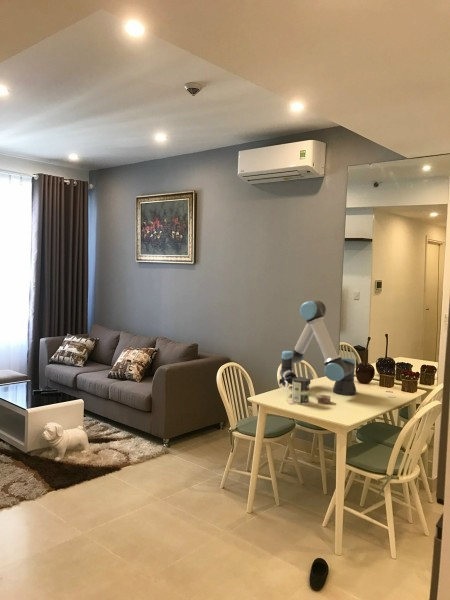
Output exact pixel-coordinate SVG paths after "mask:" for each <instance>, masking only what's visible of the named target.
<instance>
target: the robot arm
mask: <svg viewBox="0 0 450 600" xmlns="http://www.w3.org/2000/svg"><path fill="white" fill-rule="evenodd" d="M299 308H300V309H299V314H300V316H301V317H302V318H303V319H304V320H305V321H306V325H305V326H304V329H303V330H302V333H301V334H300V336H299V338H298V340H297V342H296V345H295V347H294V349H293V350H292V351H291V350H283V351H282V353H281V366H280V367H281V368H280V370H279V375H280V377H281V378H280V379H279V380H278V384H279V385H282V386H285V387H286V388H288V387H289V384H290V385H293V380H292V379H293V378H297V377H298V376H297V374H296V373H295V372H294V371H293V364H296V363H301V362H302V361H304V358H305V355H304V354H305V352H306V350H307V348H308V346H309V345H310V342H311V341H312V340H313V339H312V338H313V337H314V336H315V340H316V341H317V344H318V346H319V349H320V352H321V353H322V355H323V358H324V362H323V365H324V375H325V376H326V378H327V379H329V380H330V381H332V382H334V384H333V387H332V392H333V393H335V394H338V395H343V396H353V395H356V394H357V387H356V384H355V371H356V370H355V366H356V361H355V359H354V358H350V357H342V356H340V355H339V354H338V353H337V351H336V348H335V346H334V344H333V340H332V339H331V336H330V334H329V331H328V329H327V327H326V324H325V322H324V319H325V316H326V314H327V307H326V305H325V303H324V302H323V301H321V300H308V301H305V302H303V303H302V304H301V306H300V307H299ZM300 377H301V378H303V377H302V376H300ZM310 384H311V379H310V381H309V385H310Z"/></svg>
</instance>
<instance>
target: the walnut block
mask: <svg viewBox="0 0 450 600" xmlns="http://www.w3.org/2000/svg"><path fill="white" fill-rule="evenodd" d="M317 404H322V405H331V395H325V394H319V395H318V396H317Z"/></svg>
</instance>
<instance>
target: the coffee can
mask: <svg viewBox="0 0 450 600" xmlns="http://www.w3.org/2000/svg"><path fill="white" fill-rule="evenodd" d="M301 377H302V376H299V377H298V376H297V378H293V379H292V380H293V384H291V385H292V390H291V393H292V394H291V400H292V402H293V403H295V404H308V403H309V400H310V384H309V381H310V380H311V379H310V378H308V377H302V378H301ZM310 382H311V381H310Z"/></svg>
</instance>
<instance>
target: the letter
mask: <svg viewBox="0 0 450 600" xmlns="http://www.w3.org/2000/svg"><path fill="white" fill-rule="evenodd" d="M285 401H286V402H287V404H288V405H289V406H317V405H316V403H315V402H314V401H313V400H312V399H309V403H308V404H295V403H293V402H292V399H285Z"/></svg>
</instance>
